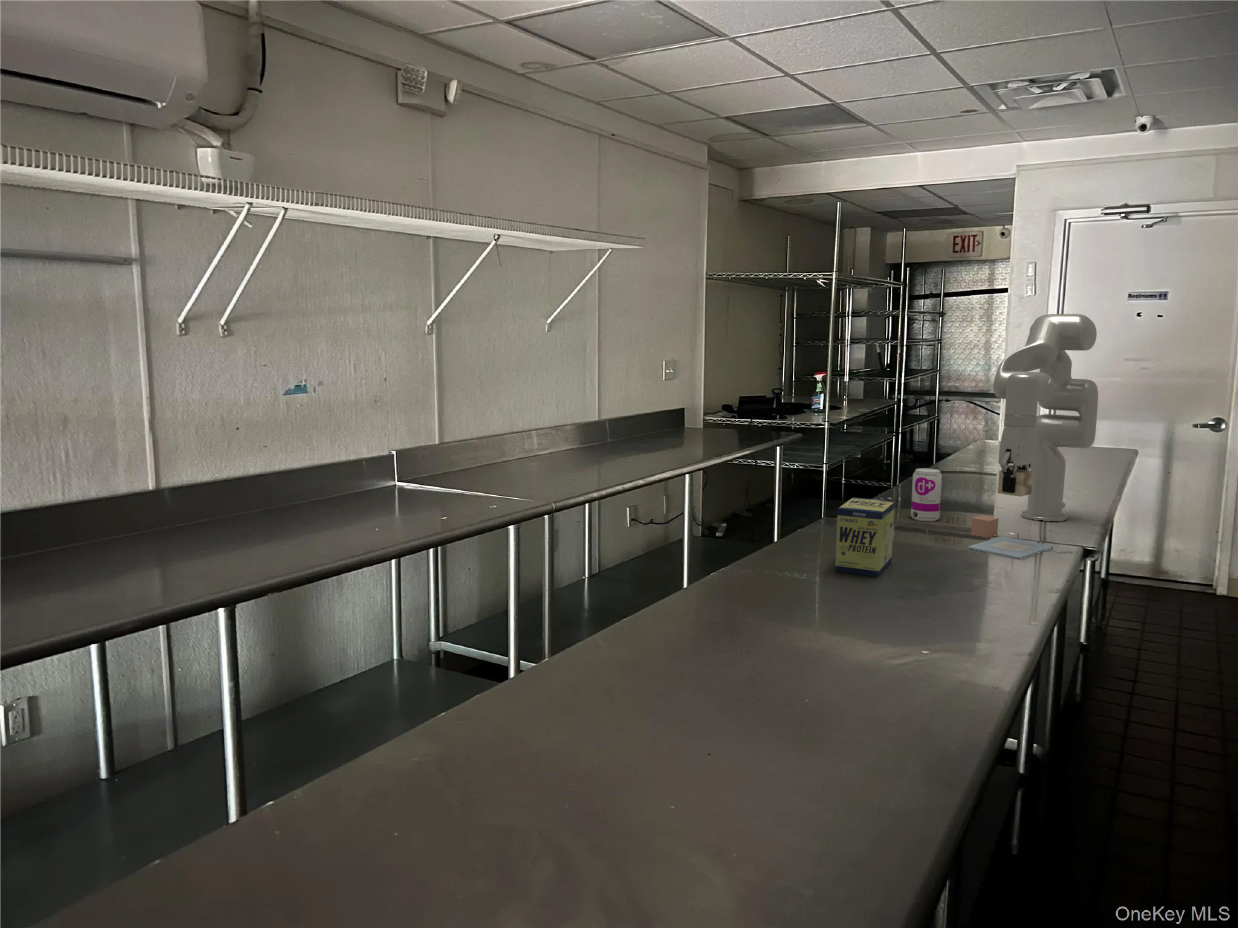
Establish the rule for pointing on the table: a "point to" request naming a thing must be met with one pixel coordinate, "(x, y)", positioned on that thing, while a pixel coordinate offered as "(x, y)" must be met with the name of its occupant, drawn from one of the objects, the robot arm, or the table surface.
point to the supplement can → (926, 494)
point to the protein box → (864, 536)
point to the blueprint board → (1010, 547)
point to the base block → (1018, 483)
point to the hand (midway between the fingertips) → (1014, 490)
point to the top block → (984, 526)
